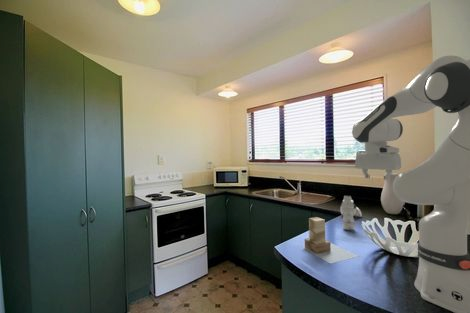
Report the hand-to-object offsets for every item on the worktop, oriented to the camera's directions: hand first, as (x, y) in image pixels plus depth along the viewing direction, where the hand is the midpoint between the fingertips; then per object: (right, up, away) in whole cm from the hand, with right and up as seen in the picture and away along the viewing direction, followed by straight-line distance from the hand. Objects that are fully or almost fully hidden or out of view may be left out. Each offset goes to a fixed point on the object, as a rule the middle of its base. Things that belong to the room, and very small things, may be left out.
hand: (376, 179), depth 101 cm
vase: (+51, -32, +60) cm, 85 cm away
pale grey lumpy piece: (+18, -33, +56) cm, 67 cm away
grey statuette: (+1, -34, +28) cm, 43 cm away
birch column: (-28, -29, 0) cm, 40 cm away
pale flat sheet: (-24, -34, -3) cm, 41 cm away
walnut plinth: (-28, -34, 0) cm, 44 cm away
